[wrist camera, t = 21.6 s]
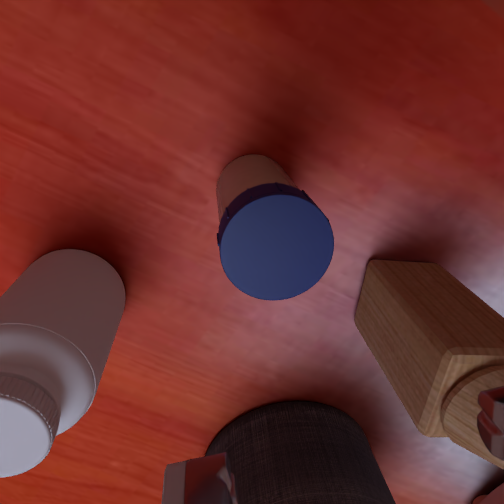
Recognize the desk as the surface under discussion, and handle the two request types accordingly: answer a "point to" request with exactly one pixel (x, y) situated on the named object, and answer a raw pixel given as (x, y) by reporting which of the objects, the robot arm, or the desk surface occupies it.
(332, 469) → the planter
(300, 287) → the jar lid
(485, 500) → the teapot
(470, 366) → the decorative item
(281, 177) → the jar
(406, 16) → the desk surface
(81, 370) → the pill bottle
